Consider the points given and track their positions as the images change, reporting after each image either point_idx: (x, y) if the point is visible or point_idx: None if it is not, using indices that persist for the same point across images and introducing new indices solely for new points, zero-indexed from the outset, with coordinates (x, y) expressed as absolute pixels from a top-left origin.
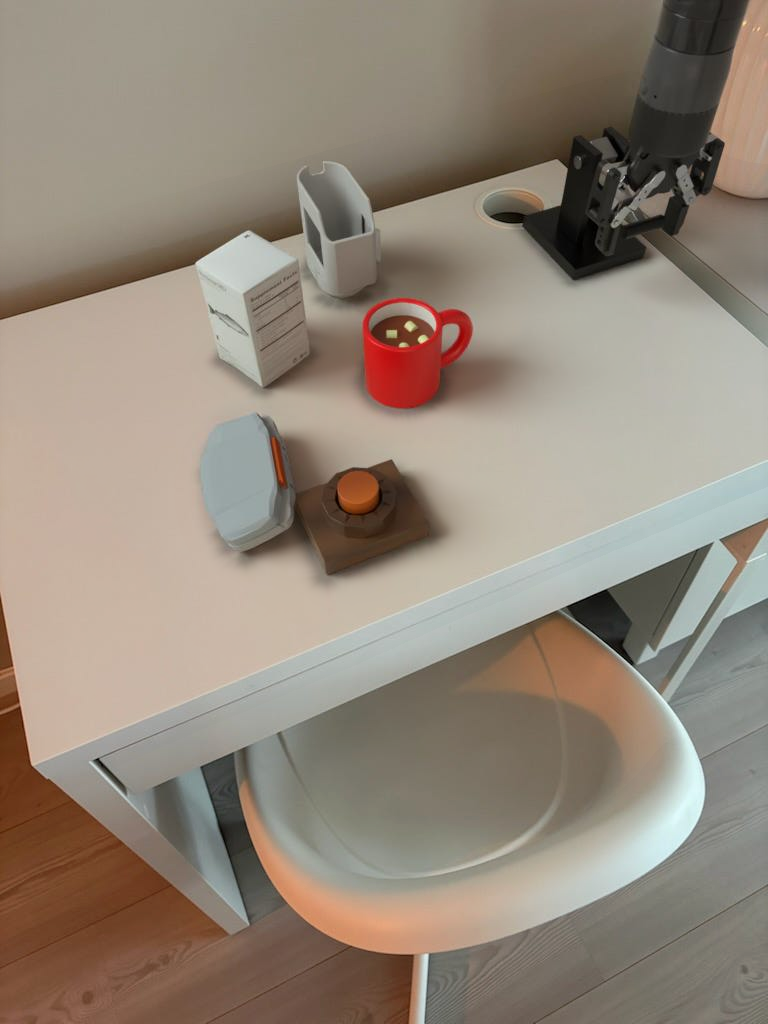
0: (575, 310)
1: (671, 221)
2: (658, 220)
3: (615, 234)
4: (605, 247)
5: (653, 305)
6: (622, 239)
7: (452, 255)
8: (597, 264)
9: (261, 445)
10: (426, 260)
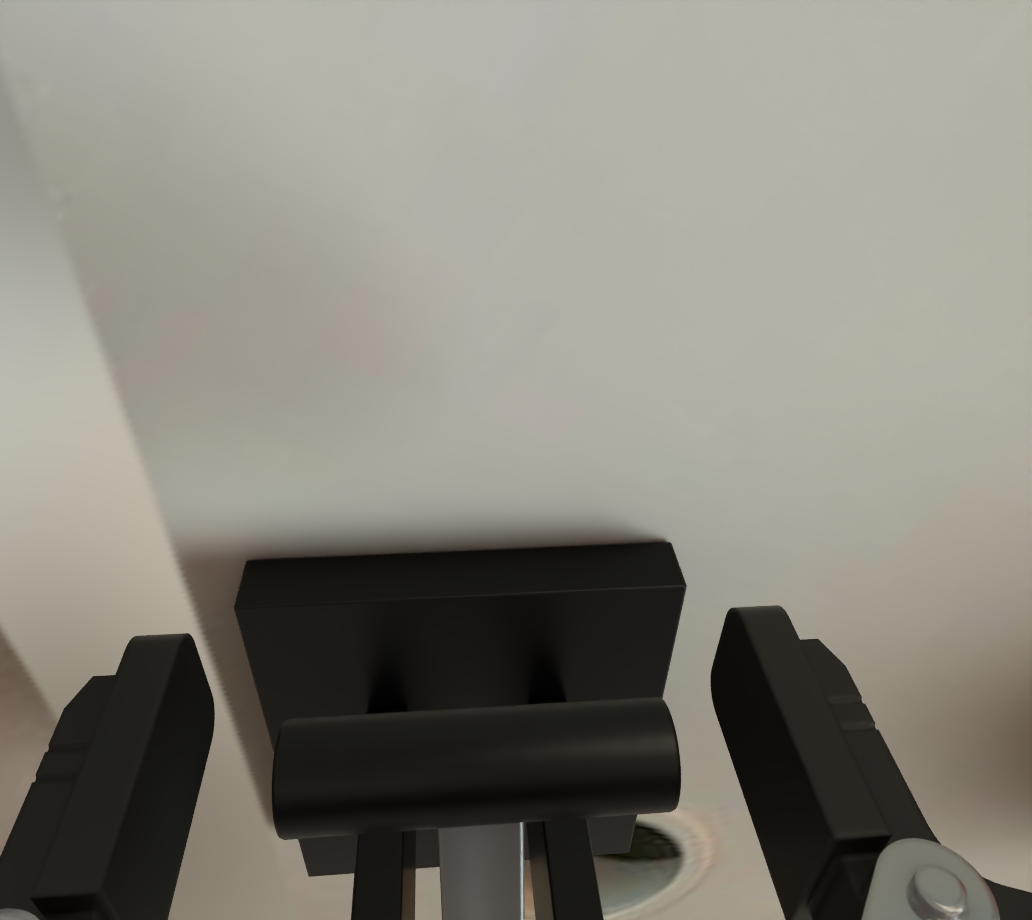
0: (825, 367)
1: (173, 751)
2: (346, 796)
3: (833, 764)
4: (819, 670)
5: (405, 227)
6: (327, 678)
7: (939, 760)
8: (548, 584)
9: None
10: (1027, 762)
